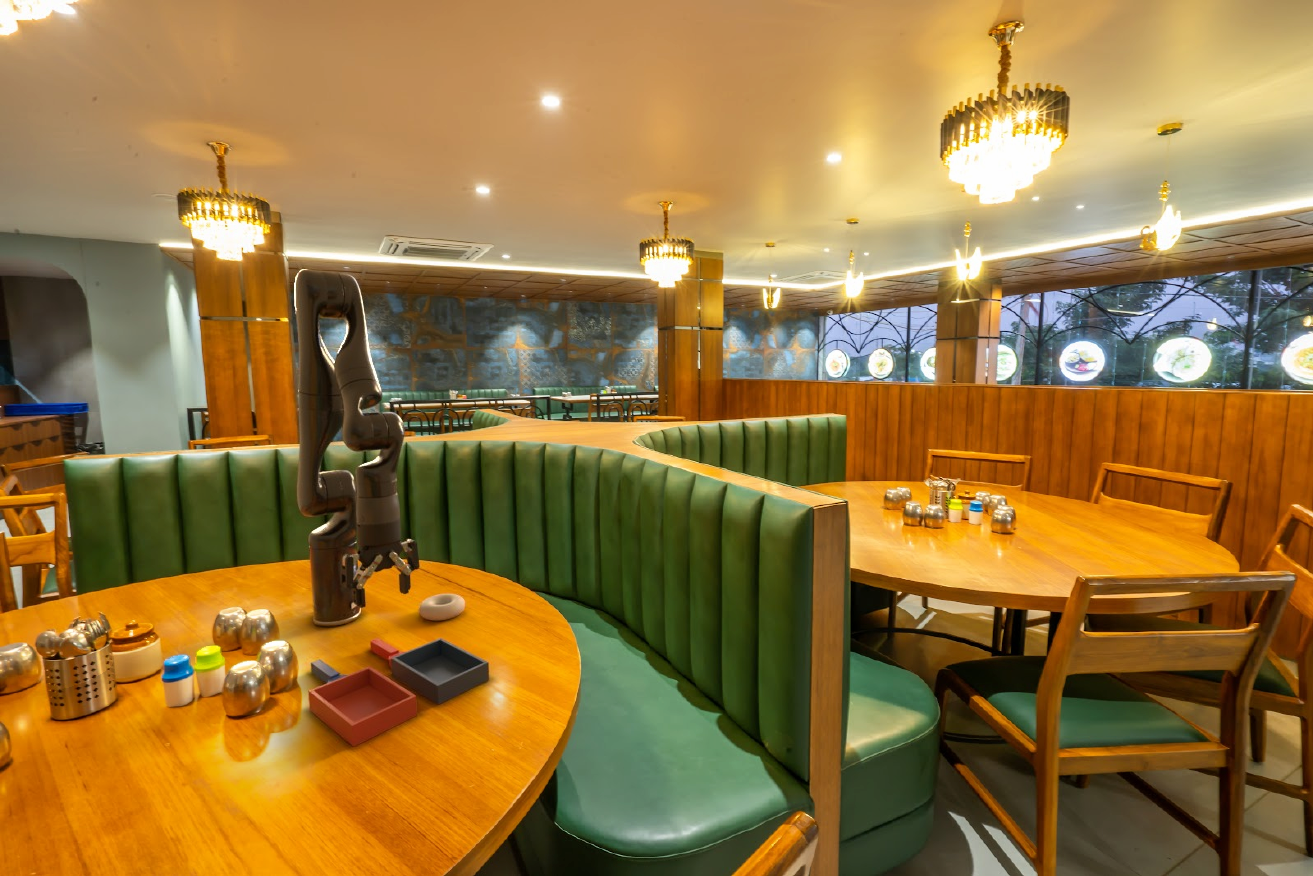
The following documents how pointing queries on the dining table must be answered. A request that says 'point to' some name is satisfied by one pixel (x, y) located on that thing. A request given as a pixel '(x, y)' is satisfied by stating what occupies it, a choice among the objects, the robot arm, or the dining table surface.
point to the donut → (442, 607)
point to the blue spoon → (324, 671)
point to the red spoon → (384, 650)
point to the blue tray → (440, 670)
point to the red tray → (362, 705)
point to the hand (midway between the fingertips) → (383, 599)
